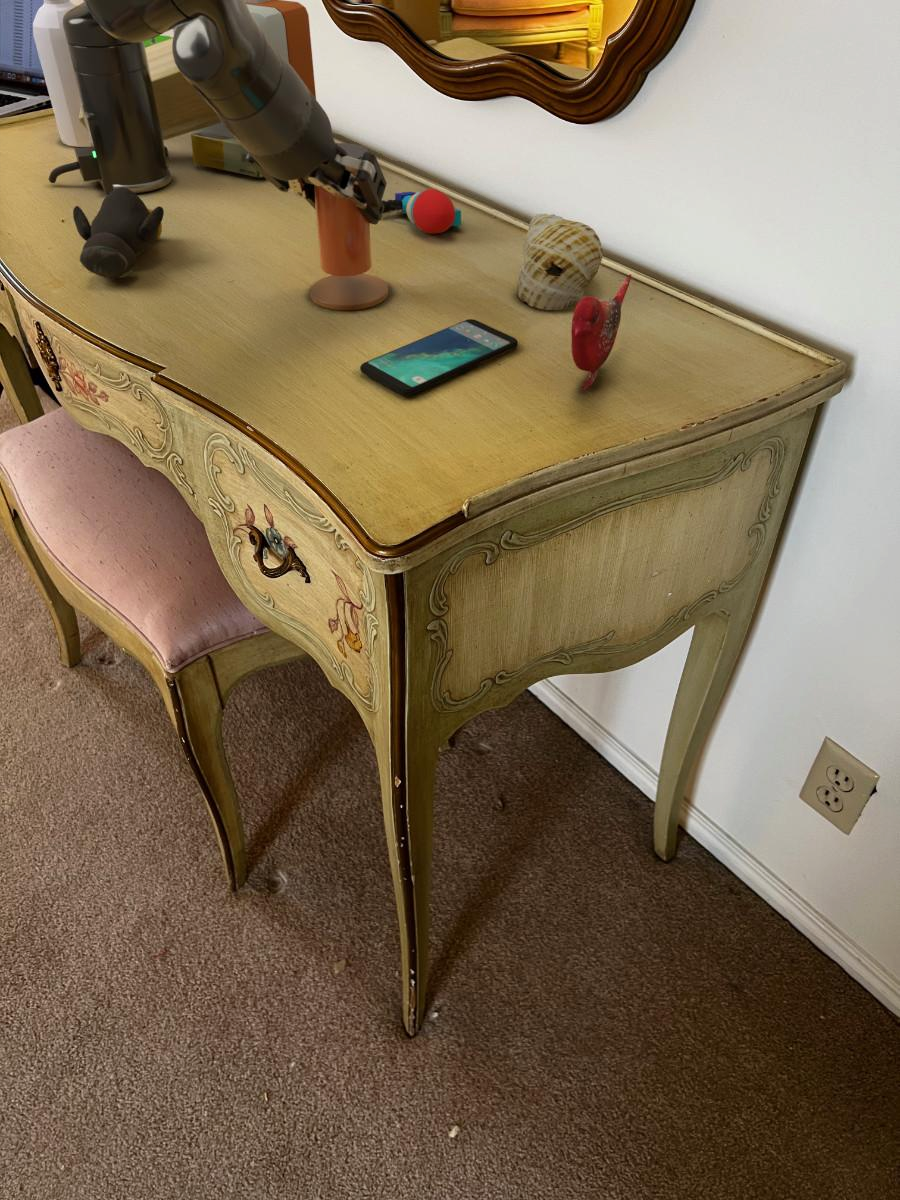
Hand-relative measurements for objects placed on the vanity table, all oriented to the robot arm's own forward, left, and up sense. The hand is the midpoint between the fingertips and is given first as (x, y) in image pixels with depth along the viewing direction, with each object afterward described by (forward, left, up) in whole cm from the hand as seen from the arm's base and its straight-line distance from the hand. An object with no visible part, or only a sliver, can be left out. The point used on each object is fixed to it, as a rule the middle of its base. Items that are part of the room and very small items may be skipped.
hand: (351, 210), depth 96 cm
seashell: (+20, -9, -8) cm, 23 cm away
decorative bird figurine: (+14, -27, -8) cm, 32 cm away
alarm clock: (+3, +55, -8) cm, 55 cm away
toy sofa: (-11, +49, -2) cm, 50 cm away
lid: (-1, -1, +6) cm, 6 cm away
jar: (-1, -1, -5) cm, 5 cm away
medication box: (-3, +44, -8) cm, 45 cm away
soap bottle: (-20, +68, -8) cm, 71 cm away
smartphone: (+2, -19, -8) cm, 21 cm away
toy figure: (+14, +15, -8) cm, 22 cm away
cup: (-6, +79, -8) cm, 80 cm away
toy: (-19, +25, -5) cm, 31 cm away
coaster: (-1, -1, -8) cm, 8 cm away
